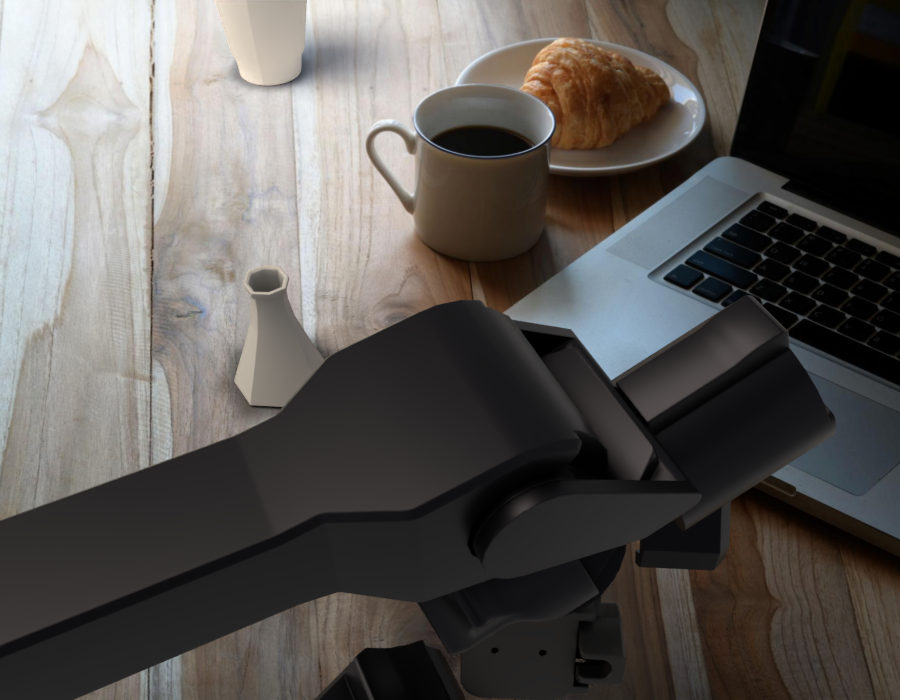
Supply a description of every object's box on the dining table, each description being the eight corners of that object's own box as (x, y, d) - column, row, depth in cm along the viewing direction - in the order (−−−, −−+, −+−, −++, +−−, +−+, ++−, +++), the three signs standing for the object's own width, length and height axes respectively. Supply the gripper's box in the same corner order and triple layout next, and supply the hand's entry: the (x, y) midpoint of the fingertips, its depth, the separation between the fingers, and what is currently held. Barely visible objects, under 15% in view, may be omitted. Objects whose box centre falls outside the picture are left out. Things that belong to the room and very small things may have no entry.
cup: (332, 47, 108) (322, -96, 97) (311, 101, 100) (297, -48, 89) (232, 40, 109) (210, -103, 98) (203, 93, 101) (175, -56, 89)
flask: (240, 418, 70) (219, 323, 62) (229, 351, 74) (208, 254, 67) (335, 400, 71) (326, 305, 64) (319, 335, 76) (308, 239, 69)
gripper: (277, 715, 35) (333, 613, 51) (770, 738, 35) (675, 628, 51) (291, 421, 36) (343, 409, 51) (779, 442, 35) (682, 424, 51)
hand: (509, 472), depth 51 cm, fingers closed
